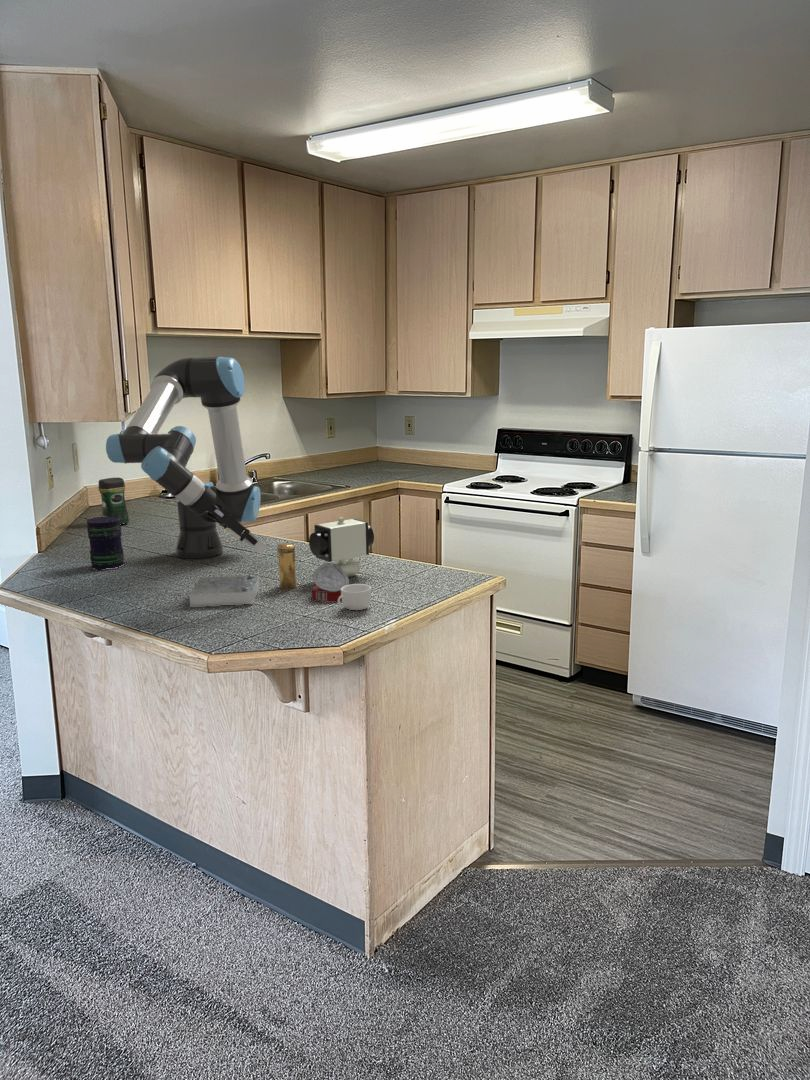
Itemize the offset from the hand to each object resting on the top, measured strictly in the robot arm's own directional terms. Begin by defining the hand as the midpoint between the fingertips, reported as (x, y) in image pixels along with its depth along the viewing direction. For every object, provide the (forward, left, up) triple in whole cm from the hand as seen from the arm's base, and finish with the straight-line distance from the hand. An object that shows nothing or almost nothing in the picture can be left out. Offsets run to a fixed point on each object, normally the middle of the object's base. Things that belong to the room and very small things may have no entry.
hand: (255, 545), depth 216 cm
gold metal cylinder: (-4, +8, -13) cm, 16 cm away
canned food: (+7, +20, -13) cm, 25 cm away
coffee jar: (-102, -66, -13) cm, 123 cm away
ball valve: (-12, +23, -13) cm, 29 cm away
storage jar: (-35, -50, -13) cm, 63 cm away
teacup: (+19, +26, -13) cm, 35 cm away
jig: (+4, -8, -13) cm, 16 cm away
